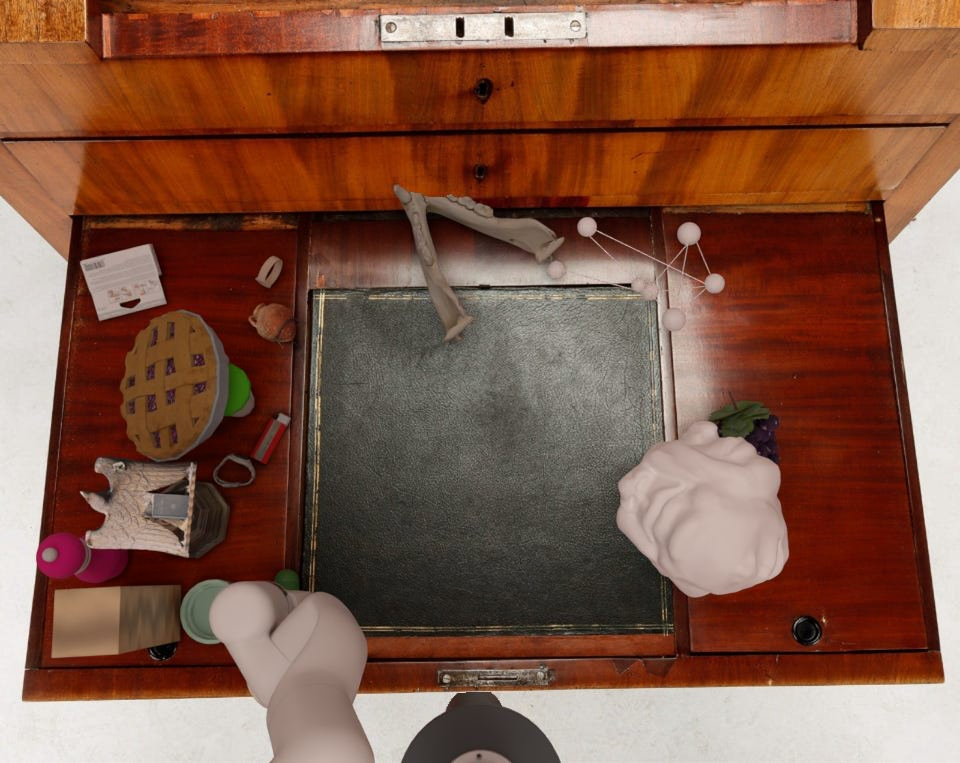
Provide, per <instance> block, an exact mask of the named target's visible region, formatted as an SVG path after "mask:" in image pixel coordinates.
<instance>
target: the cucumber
mask: <svg viewBox="0 0 960 763" xmlns="http://www.w3.org/2000/svg"><path fill="white" fill-rule="evenodd" d="M273 582H275V583H277V584H279V585H281V586H282V587H283V588H284V589H286V590H296V591H300V578H299V574H298V573H296V571H294V570H292V569H289V568H287V569H282V570H280V571H278V572H277V574H276V575H275V577H274V581H273Z"/></svg>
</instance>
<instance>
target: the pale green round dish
mask: <svg viewBox="0 0 960 763" xmlns="http://www.w3.org/2000/svg"><path fill="white" fill-rule="evenodd" d="M233 583H234V582H233V581H230V580H226V579H223V578H220V579H219V578H216V579H206V580H203V581H201V582H198V583H196V584H195V585H194V586H193V587H191V588H190V589H189V590H188V592H186V594H185V596H184V597H183V599H182V601H181V608H180V623H181V625H182V629H183V630H184V631H185V633H186V634H187V635H188V637H190V638H191V639H193V640H194V641H195V642H197V643H201V644H205V645H215V644H220V643H222V642H221V641H220V640H219V639H218V638H217V637H216V636H215V635H214V633H213V631H212V629H211V626H210V623H209V611H210V607H211V604H212V602H213V600H214V598H215V597H216V595H217V594H218V593H219V592H220V591H221V590H222V589H223V588H225V587H226V586H228V585H230V584H233Z"/></svg>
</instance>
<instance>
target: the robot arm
mask: <svg viewBox="0 0 960 763" xmlns="http://www.w3.org/2000/svg"><path fill="white" fill-rule="evenodd" d="M209 623H210V626H211V629H212V631H213V633H214V635H215V636H216V637H217V638H218V639H219V640H220V641H221V642H220V643H222V644H224V646H225V648H226V649H227V651H228V653H229V654H230V657H231V658H232V659H233V661H234V663H235V664H236V666H237V667H238V670H239V671H240V674H242V676H243V678H244V680H245V682H246V686H247V689H248V691H249V693H250V695H251V696H252V697H253V699H254V700H255V702H257V703H258V704H259V705H260V707H261V706H262V707H263V708H264V709H266V715H265V719H266V720H265V721H266V728H267V732H268V736H269V741H270V744H271V749H272V753H273V757H272V759H271V760H270V761H269V762H268V763H376V760H375V753H374V751H373V748H372V745H371V743H370V741H369V739H368V736H367V734H366V731H365V729H364V727H363V725H362V723H361V721H360V719H359V717H358V714H357V712H356V710H355V708H354V703H355V701H356V697H357V695H358V692H359V688H360V685H361V681H362V678H363V674H364V672H365V669H366V664H367V661H368V653H369V652H368V651H369V649H368V641H367V639H366V636H365V633H364V632H363V629H361V627H360V624H359V623H358V621H357V620H356V618H355V617H354V615H353V614H352V612H351V610H350V609H349V608H348V607H347V606H346V605H345V604H344V602H342V601H341V600H340V599H339V598H338V597H336V596H334V595H332V594H330V593H328V592H324V591H315V592H311V591H308V590H306V591H305V590H299V591H296V590H286V589H284V588H283V587H282V586H281V585H279V584H277V583H275V582H274V581H271V580H251V581H250V580H249V581H248V580H247V581H246V580H245V581H237V582H233V584H230V585H228V586H226V587H225V588H223V589H222V590H221V591H220V592H219V593H218V594H217V595H216V597H215V598H214V600H213V602H212V604H211V607H210V611H209ZM478 754H480V755H481V757H477V755H478ZM451 763H511V762H510V761H509V760H508V759H507V758H506V757H504V756H503V755H501V754H499V753H496V752H494V751H489V750H473V751H468V752H466V753H464V754H461V755H460V756H458V757H457V758H455V759H454V760H453V761H452V762H451Z"/></svg>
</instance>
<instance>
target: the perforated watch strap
mask: <svg viewBox="0 0 960 763" xmlns="http://www.w3.org/2000/svg"><path fill="white" fill-rule="evenodd" d="M272 267H273V269H272V271H271V272H270V270H271V268H272ZM282 268H283V260H282V259H280V258H279V257H278V256H275V255H272V256H270V257H268V259H267V260H265V262H264V263H263V265H262V266H261V268H260V270H259V273H258V276H256V277H255V280H256V281H257V282H258V283H259V284H260V285H262V286H264V287H265V288H268V289H270V288H271V287H272V285H273V284H274V283H275V282H276V280H277V279H278V277H279V275H280V273H281V272H282ZM269 272H270V274H269V276H268V277H267V275H268V273H269Z"/></svg>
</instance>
